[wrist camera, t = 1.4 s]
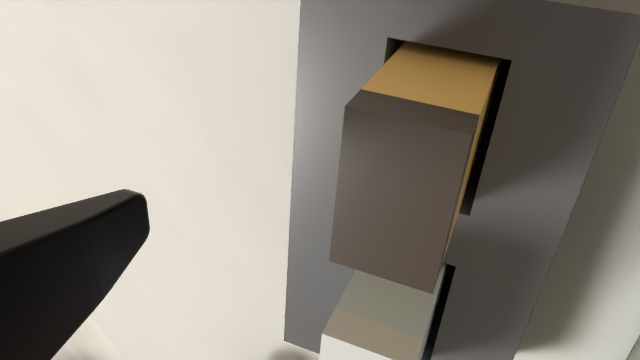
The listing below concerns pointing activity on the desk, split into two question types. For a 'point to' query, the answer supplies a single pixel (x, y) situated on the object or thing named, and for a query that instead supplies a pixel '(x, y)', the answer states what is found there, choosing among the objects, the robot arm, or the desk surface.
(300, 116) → the fuse block
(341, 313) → the white rectangular block
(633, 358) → the parts tray
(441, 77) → the tan and brown block
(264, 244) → the desk surface
